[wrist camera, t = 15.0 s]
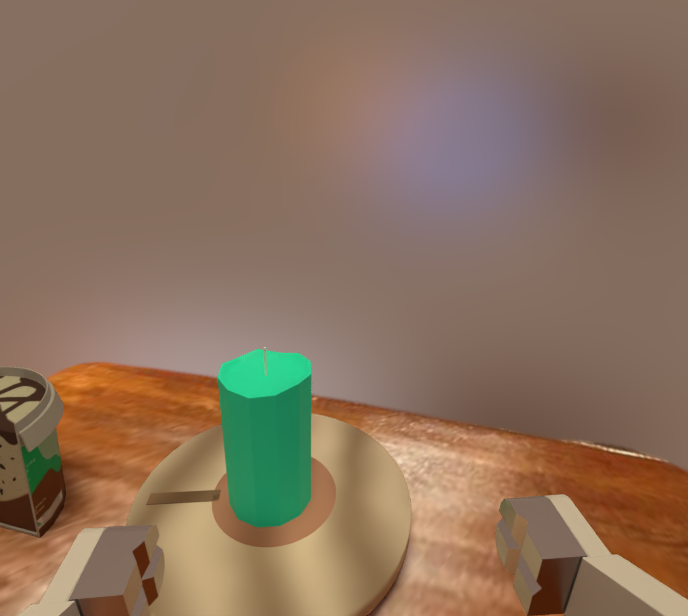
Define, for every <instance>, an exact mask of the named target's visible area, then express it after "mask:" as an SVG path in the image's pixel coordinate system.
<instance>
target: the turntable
mask: <svg viewBox="0 0 688 616" xmlns="http://www.w3.org/2000/svg"><path fill="white" fill-rule="evenodd" d="M410 524H411V499H410V495H409V490H408V486H407V483H406V481H405V478H404V476H403V473H402V471H401V470H400V468H399V466H398V465H397V463H396V461H395V460H394V459H393V458H392V456H391V455H390V454H389V452H388V451H387V450H386V449H385V448H384V447H383V446H382V445H381V444H380V443H378V442H377V441H376V440H375V439H373V438H372V437H371V436H369V435H368V434H366V433H365V432H363V431H361V430H360V429H358V428H356V427H354V426H352V425H349V424H347V423H345V422H342V421H339V420H337V419H334V418H330V417H326V416H322V415H317V414H311V500H310V502H309V503H308V505H307V506H306V508H305V509H304V511H303V512H302V514H301V515H300V516H298V517H296V518H294V519H293V520H291V521H289V522H287V523H285V524H283V525H281V526H274V527H258V528H257V527H255V526H252V525H250V524H248V523H246V522H243V521H241V520H239V519H238V518H237V516H236V515H235V513H234V511H233V509H232V508H231V506H230V504H229V494H228V483H227V472H226V462H225V451H224V440H223V429H222V424H220V425H217V426H215V427H212V428H210V429H208V430H206V431H204V432H202V433H200V434H198V435H196V436H195V437H193V438H191V439H190V440H188V441H187V442H185V443H184V444H182V445H181V446H179V447H178V448H177V449H175V450H174V451H173V452H172V453H170V454H169V455H168V456H167V457H166V458H165V459H164V460H163V461H162V462H161V463H160V464H159V465H158V466H157V467H156V468H155V469H154V470H153V471H152V473H151V474H150V475H149V477H148V478H147V479H146V481H145V482H144V483H143V485H142V486H141V488H140V490H139V492H138V494H137V496H136V497H135V499H134V501H133V504H132V507H131V509H130V512H129V515H128V519H127V524H126V526H137V525H157V529H158V532H159V539H158V541H157V544H156V545H157V546H159V547H160V548H161V549H163V553H164V560H165V569H164V576H163V583H162V586H161V590H160V593H159V597H158V598H157V599H156V600H155V601H154V602H153V603H152V604H151V605H150V606H149V610H150V614H151V616H367V615H368V614H369V613H370V612H372V611H373V610H374V608H375V607H376V606H377V605H378V604H379V603H380V601H381V600H382V599H383V598H384V597H385V595H386V594H387V593H388V591H389V589H390V588H391V586H392V585H393V583H394V581H395V580H396V578H397V576H398V574H399V571H400V569H401V567H402V564H403V562H404V559H405V555H406V551H407V547H408V541H409V533H410Z"/></svg>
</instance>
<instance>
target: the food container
mask: <svg viewBox="0 0 688 616" xmlns="http://www.w3.org/2000/svg"><path fill="white" fill-rule="evenodd" d="M63 409H64V408H63V402H62V400H61V399H60V397H59V395H58V394H57V392H56V390H55V389H54V387H53V385H52V384H51V382H49V381H48V380H47V379H46V378H45V377H44V376H43V375H42V374H40V373H38V372H36V371H34V370H31V369H27V368H21V367H10V366H0V527H3V528H7V529H10V530H14V531H18V532H21V533H25V534H28V535H32V536H36V537H39V538H41V537H42V535H43V534H44V533H45V532H46V531H47V530H48V529H49V528H50V527H51V526H52V525H53V524H54V522H55V520H56V519H57V517H58V515H59V514H60V512H61V510H62V509H63V507H64V501H65V496H66V490H65V484H64V477H63V471H62V464H61V458H60V451H59V444H58V438H57V431H56V426H57V425H58V423H59V421H60V419H61V417H62V414H63Z"/></svg>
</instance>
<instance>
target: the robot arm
mask: <svg viewBox="0 0 688 616" xmlns="http://www.w3.org/2000/svg"><path fill="white" fill-rule="evenodd" d="M499 511H500V513H501V515H502V517H503V518H502V519H501V520H500V521H499V522H498V523H497V525H496V532H495V538H496V546H497V550H498V553H499V556H500V559H501V561H502V563H503V565H504V567H505V568H506V569H507V570H509V571H510V572H511V573H512V574H513V575H515V579H514V584H513V587H514V589H515V591H516V593H517V595H518V597H519V600H520V602H521V604H522V606H523V608H524V610H525V612H526V614H527V616H533V615H549V614H564V616H688V600H687V599H685V598H684V597H682V596H681V595H679V594H678V593H676V592H675V591H673V590H672V589H670V588H669V587H667V586H665V585H664V584H662V583H661V582H659V581H658V580H656V579H655V578H653V577H652V576H650V575H649V574H647V573H646V572H644V571H642V570H641V569H639V568H638V567H636V566H635V565H633V564H632V563H630V562H629V561H627V560H626V559H624V558H622V557H621V556H619V555H611V553H610V552H609V551H608V549H607V548H606V547H605V545H604V544H603V543H602V541H601V540H600V539H599V537H598V536H597V534H596V533H595V532H594V530H593V529H592V528H591V526H590V525H589V524H588V522H587V521H586V520H585V518H584V517H583V516H582V514H581V513H580V512H579V510H578V509H577V508H576V506H575V505H574V504H573V502H572V501H571V499H570V498H569V497H567V496H566V495H564V494H563V495H549V496H533V497H521V498H509V499H504V500H503V501H502V502H501V505H500V510H499ZM158 539H159V532H158V529H157V525H137V526H115V527H99V528H85V529H83V530H82V531H81V532H80V533H79V534H78V535H77V537H76V539H75V541H74V542H73V544H72V546H71V548H70V549H69V551H68V553H67V555H66V556H65V558H64V560H63V562H62V563H61V565H60V567H59V569H58V570H57V572H56V574H55V576H54V577H53V579H52V581H51V583H50V585H49V586H48V588H47V590H46V592H45V593H44V595H43V597H42V599H41V600H40V602H39V604H31V605H30V606H28V607H27V608H26V609H25V610H24V611H22V612H21V613H20V614H19V615H18V616H151V614H150V610H149V606H150V605H151V604H152V603H153V602H154V601H155V600H156V599H157V598H158V597H159V593H160V590H161V586H162V583H163V576H164V569H165V560H164V553H163V549H161V548H160V547H159V546H157V545H156V544H157V541H158Z"/></svg>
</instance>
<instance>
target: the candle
mask: <svg viewBox="0 0 688 616" xmlns="http://www.w3.org/2000/svg"><path fill="white" fill-rule="evenodd" d="M218 387H219V397H220V408H221V419H222V429H223V440H224V451H225V462H226V472H227V483H228V494H229V504H230V506H231V508H232V509H233V511H234V513H235V515H236V516H237V518H238V519H239V520H241V521H243V522H246V523H248V524H250V525H252V526H255V527H257V528H258V527H274V526H281V525H283V524H285V523H287V522H289V521H291V520H293V519H294V518H296V517H298V516H300V515H301V514H302V512H303V511H304V509H305V508H306V506H307V505H308V503H309V502H310V500H311V362H310V361H309V360H308V359H306V358H305V357H304V356H302V355H301V354H299V353H278V352H272V351H266V347H264V350H260V349H257V350H254V351H252V352H250V353H247V354H245V355H243V356H240V357H238V358H236V359H233V360H230V361H228V362H225V363H223V364H222V365H221V368H220V372H219V375H218Z"/></svg>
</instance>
